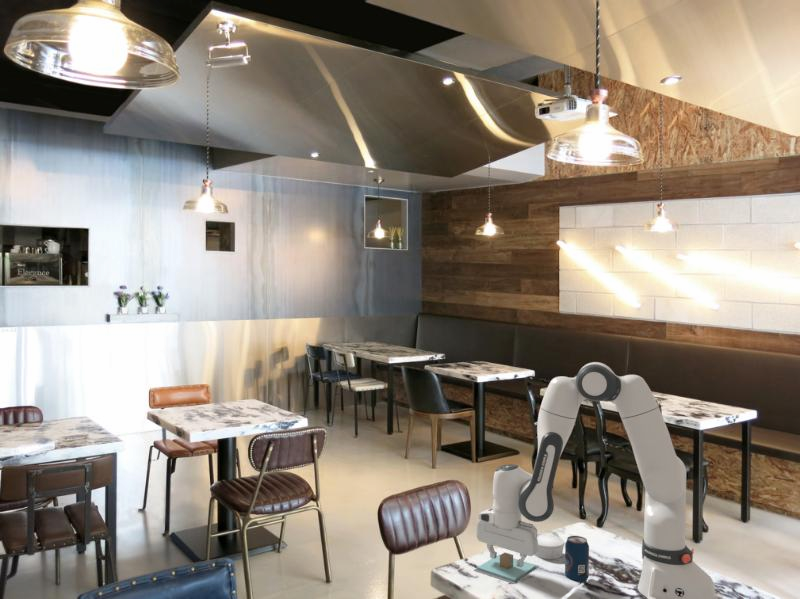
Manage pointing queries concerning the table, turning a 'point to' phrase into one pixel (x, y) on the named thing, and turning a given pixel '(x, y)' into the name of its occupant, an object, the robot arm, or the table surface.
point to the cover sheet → (505, 572)
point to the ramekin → (549, 546)
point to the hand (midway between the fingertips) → (506, 562)
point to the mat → (504, 578)
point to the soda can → (577, 558)
